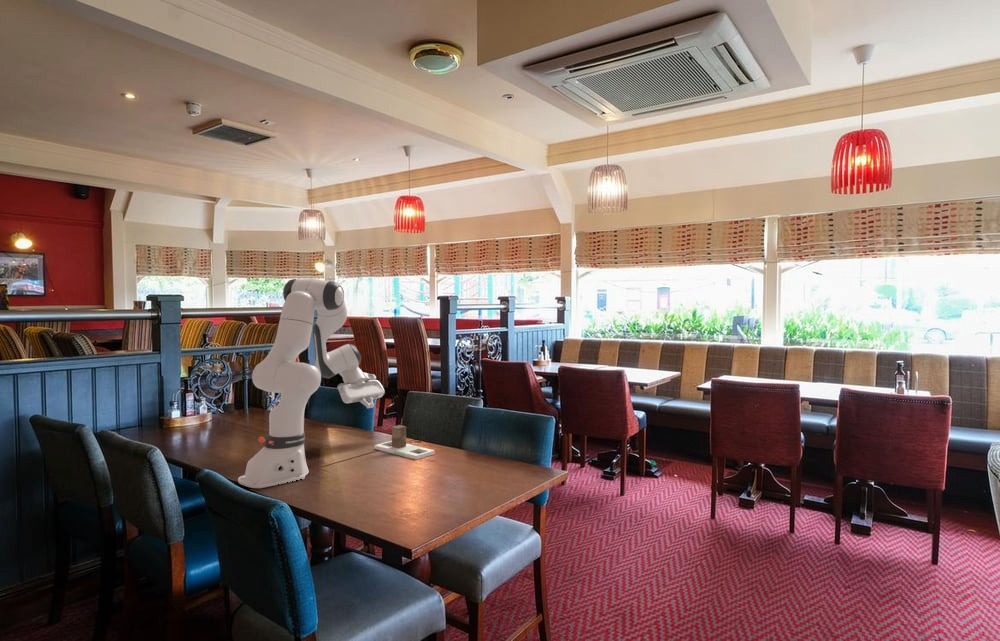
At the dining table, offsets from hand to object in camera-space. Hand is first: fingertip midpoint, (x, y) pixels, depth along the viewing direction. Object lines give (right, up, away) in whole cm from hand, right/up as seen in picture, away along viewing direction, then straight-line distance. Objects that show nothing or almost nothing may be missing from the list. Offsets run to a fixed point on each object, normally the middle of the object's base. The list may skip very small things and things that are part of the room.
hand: (370, 407), depth 234 cm
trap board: (+16, -16, -12) cm, 25 cm away
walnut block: (+14, -14, -10) cm, 22 cm away
